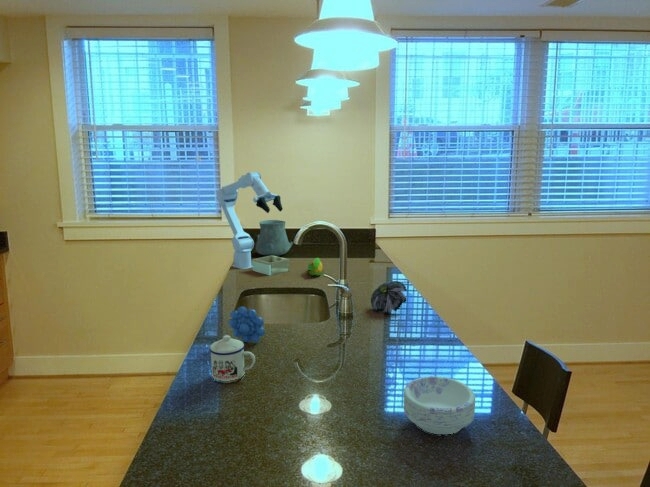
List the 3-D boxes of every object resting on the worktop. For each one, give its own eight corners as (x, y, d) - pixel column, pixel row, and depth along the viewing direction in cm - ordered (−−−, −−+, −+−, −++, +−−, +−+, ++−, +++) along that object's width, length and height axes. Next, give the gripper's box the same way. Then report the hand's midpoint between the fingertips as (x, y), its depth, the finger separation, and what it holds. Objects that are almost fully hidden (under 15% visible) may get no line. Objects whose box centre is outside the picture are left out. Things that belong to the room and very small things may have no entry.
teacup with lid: (207, 384, 129) (204, 342, 127) (217, 369, 138) (214, 329, 136) (252, 385, 128) (250, 343, 126) (259, 370, 137) (257, 330, 135)
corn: (307, 262, 235) (309, 253, 255) (306, 278, 236) (309, 268, 256) (323, 263, 235) (324, 254, 254) (322, 278, 236) (323, 269, 256)
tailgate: (252, 270, 250) (252, 259, 249) (254, 270, 250) (254, 258, 249) (269, 275, 240) (269, 263, 239) (271, 275, 240) (271, 263, 239)
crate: (255, 271, 251) (254, 258, 250) (272, 267, 258) (272, 255, 257) (272, 276, 241) (271, 262, 240) (289, 272, 248) (289, 259, 247)
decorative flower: (359, 283, 189) (393, 269, 192) (363, 306, 195) (397, 292, 198) (377, 303, 177) (413, 288, 180) (381, 327, 183) (416, 312, 187)
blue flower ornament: (225, 347, 153) (223, 310, 151) (231, 339, 160) (230, 304, 158) (262, 348, 152) (260, 311, 150) (267, 340, 159) (265, 304, 157)
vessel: (296, 257, 283) (296, 223, 279) (258, 260, 277) (256, 224, 274) (289, 250, 304) (288, 218, 300) (253, 252, 298) (252, 219, 294)
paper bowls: (441, 453, 99) (442, 416, 97) (389, 420, 111) (389, 387, 109) (488, 427, 107) (490, 394, 106) (435, 400, 119) (436, 369, 118)
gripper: (252, 185, 232) (266, 206, 226) (276, 184, 242) (290, 203, 236) (246, 196, 236) (260, 216, 231) (270, 194, 246) (284, 213, 241)
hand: (275, 210), depth 234 cm, fingers open, 7 cm apart
